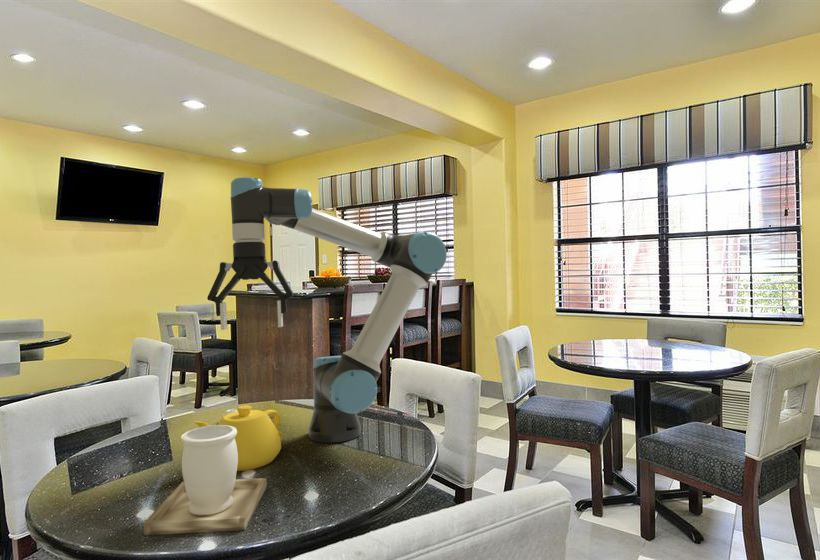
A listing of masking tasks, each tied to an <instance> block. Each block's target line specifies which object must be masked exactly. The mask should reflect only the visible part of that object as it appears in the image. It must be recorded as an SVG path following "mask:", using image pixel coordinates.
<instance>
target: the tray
mask: <svg viewBox="0 0 820 560" xmlns="http://www.w3.org/2000/svg"><path fill="white" fill-rule="evenodd" d="M267 479H268V478H267V477H264V478H263V477H260V478H258V477H257V478H239V479H238V478H236V480H235V485H234V489H233V491H232V493H231V496H232V497H233V504H232V505H231V506H230V507H229V508H227V509H226V510H224V511H222V512H219V513H215V514H211V515H194V514H192V513H190V512H189V505H190V503H191V501H190V500H189V498H188V496H187V493H186V489H185V482H184V481H182V482H181V483H180V484H179V485H178V486H177V487H176V488H175V489H174V490H173V492H172V493H171V494H170V495H169V496H168V497H167V498H166V499H165V500H164V501H163V502H162V503H161V504H160V505H159V506H158V508H157V509H156V510H154V511H153V513H152V514H151V515H150V516H149V517H148V518H147V519H146V520H145V521H144V523H143V535H144V536H157V535H174V534H175V535H177V534H195V533H199V534H200V533H212V532H213V533H214V532H216V533H217V532H234V531H246V529H247V527H248V524H249V523H250V521H251V520H252V517H253V515H254V514H255V511H256V510H257V508H258V505H259V504H260V502H261V500H262V498H263V496H264V494H265V492H266V490H267V488H268V487H267V486H268V484H267V483H268V482H267Z"/></svg>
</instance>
